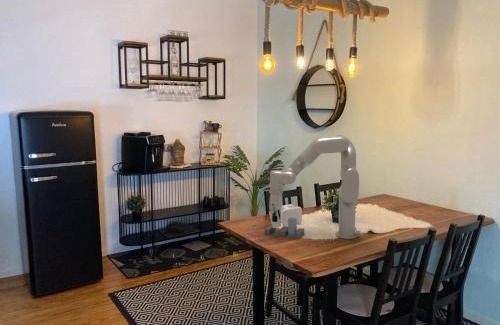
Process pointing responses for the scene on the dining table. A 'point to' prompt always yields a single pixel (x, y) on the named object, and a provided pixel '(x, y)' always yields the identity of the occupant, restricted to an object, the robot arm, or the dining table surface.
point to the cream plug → (275, 224)
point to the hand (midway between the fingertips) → (276, 220)
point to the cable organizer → (290, 214)
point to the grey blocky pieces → (284, 232)
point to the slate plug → (292, 226)
